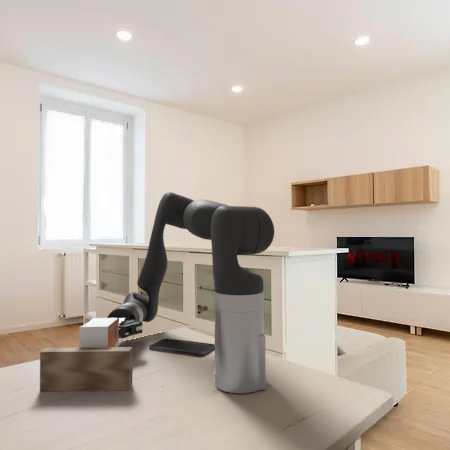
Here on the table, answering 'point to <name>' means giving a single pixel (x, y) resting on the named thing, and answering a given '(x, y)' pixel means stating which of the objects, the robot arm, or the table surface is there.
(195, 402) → the table surface
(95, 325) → the small box
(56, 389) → the walnut board
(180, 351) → the phone
